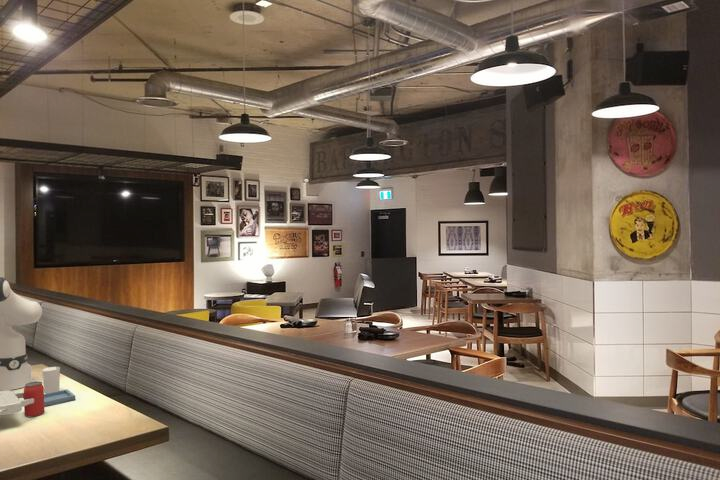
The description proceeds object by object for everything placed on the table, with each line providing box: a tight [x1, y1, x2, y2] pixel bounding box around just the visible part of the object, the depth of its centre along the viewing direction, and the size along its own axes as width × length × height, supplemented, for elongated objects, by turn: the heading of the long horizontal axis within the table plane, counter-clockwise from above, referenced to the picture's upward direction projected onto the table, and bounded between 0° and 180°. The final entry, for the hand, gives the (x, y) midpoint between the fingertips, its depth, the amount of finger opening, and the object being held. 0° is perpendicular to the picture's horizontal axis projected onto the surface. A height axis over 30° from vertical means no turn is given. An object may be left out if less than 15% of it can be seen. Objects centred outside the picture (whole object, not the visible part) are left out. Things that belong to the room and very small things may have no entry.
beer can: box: [23, 381, 45, 418], centre depth 199 cm, size 7×7×12 cm
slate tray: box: [44, 388, 76, 408], centre depth 216 cm, size 12×12×2 cm
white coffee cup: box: [41, 366, 61, 394], centre depth 228 cm, size 7×7×10 cm
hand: (31, 397), depth 199 cm, fingers open, 8 cm apart
